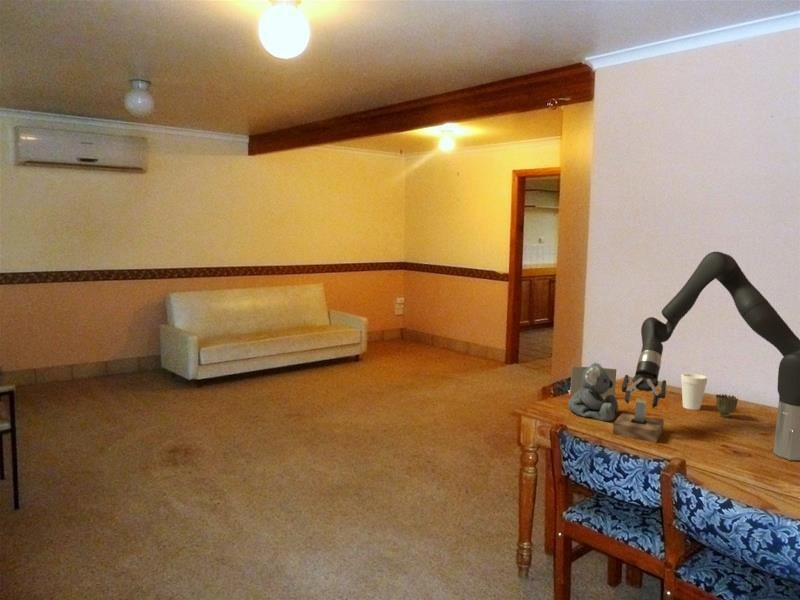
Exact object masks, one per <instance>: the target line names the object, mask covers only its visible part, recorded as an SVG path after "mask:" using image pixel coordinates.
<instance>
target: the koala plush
mask: <svg viewBox="0 0 800 600" xmlns="http://www.w3.org/2000/svg"><path fill="white" fill-rule="evenodd" d="M587 367H588V368H587V369H586V370H585V371H584V372H583V374H582V381H581V383H582V386H581V388H580V390H579V391H577V393H575V394H574V395H573V396H571V397H570V399H569V400H568V402H567V403H568V404H567V406H568V409H569V410H570V412H573V414H574V413H575V414H576V415H577V416H580V417H583V418H586V417H588V418H592V419H594V420H597V421H603V422H604V421H605V422H611V421H614V419H615V417H616V414H617V413H618V412H619V404H618V401H617V397H616V395H608V396H606V397H605V398H603V397H602V396H601V394H603V393H605V392H606V391H607V390H608V389H609V388H612V386H613V382H612V381H611V380H610V379H609V377H608V375H607V373H606V372H605V370H604V369H603V368H604V367H603V366H601V363H600V362H596V361H594V362H592V363H591V365H590V366H587Z"/></svg>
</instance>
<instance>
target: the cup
mask: <svg viewBox="0 0 800 600" xmlns="http://www.w3.org/2000/svg"><path fill="white" fill-rule="evenodd" d="M715 397H716V398H715V399H716V400H715V401H716V409H717V411H718V412H720V413H719V414H720V417H723V418H730V417H731V416H732V414H733V413H734V412H735V410H736V408H737V404H738V401H739V397H737V396H735V395H731V394H729V395H728V394H726V393H725V394H724V393H722V394H720V393H719V394H718V393H717V394H715Z"/></svg>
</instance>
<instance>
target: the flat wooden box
mask: <svg viewBox="0 0 800 600" xmlns="http://www.w3.org/2000/svg"><path fill="white" fill-rule="evenodd" d="M634 420H635V414H629V413H624V412H622V413H621V414H620V415H619V416H618V417H617V418H616V420H615V421H613V427H612V435H615V436H620V437H625V438H626V437H627V438H631V439H636V440H641V441H645V442H651V443H657V442H658V441H659V439H660V437H661V435H662V434H663V431H664V423H665V420H663V419H658V418H652V417H646V416H645V423H644V425H643V424H638V423H634Z"/></svg>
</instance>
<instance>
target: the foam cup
mask: <svg viewBox="0 0 800 600" xmlns="http://www.w3.org/2000/svg"><path fill="white" fill-rule="evenodd" d="M680 375H681V376H680V382H681V395H682V396H681V397H682V398H681V399H682V407H683V408H685V409H687V410H695V411H698V410H700V409H701V407H702V406H701V405H702V402H703V398H704V393H705V389H706V385H707V383H708V377H707V376H706V375H704V374H700V373H699V374H698V373H693V372H686V373H685V372H684V373H681V374H680Z"/></svg>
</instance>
